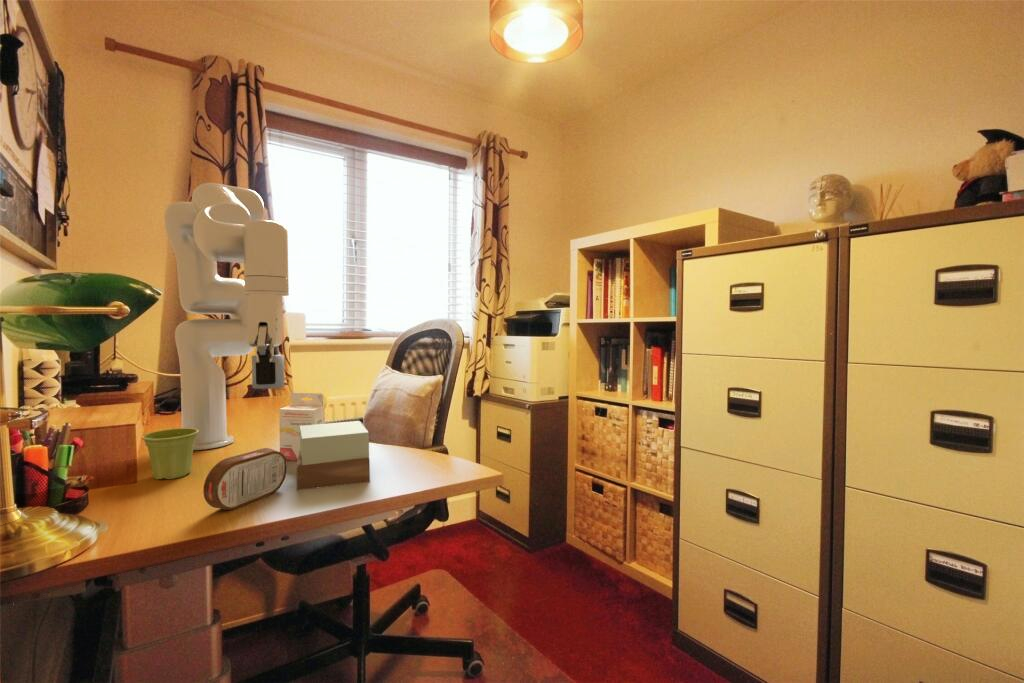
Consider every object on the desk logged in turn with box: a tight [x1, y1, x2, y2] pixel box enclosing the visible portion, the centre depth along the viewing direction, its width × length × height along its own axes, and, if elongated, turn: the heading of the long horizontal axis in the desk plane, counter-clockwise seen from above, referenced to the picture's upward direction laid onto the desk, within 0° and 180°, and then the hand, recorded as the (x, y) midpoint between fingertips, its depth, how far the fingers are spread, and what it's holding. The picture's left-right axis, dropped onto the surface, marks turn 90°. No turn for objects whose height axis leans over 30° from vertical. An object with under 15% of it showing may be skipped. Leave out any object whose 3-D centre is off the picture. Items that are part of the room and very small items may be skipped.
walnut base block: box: [296, 451, 371, 491], centre depth 99 cm, size 13×13×5 cm
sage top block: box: [300, 420, 370, 465], centre depth 98 cm, size 12×12×5 cm
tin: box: [202, 447, 288, 511], centre depth 85 cm, size 15×3×8 cm, turn 159°
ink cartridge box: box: [279, 392, 325, 461], centre depth 111 cm, size 9×5×15 cm, turn 84°
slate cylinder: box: [251, 354, 285, 390], centre depth 93 cm, size 6×6×6 cm
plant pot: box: [141, 427, 199, 480], centre depth 99 cm, size 9×9×9 cm
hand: (268, 381), depth 94 cm, fingers closed on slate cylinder, 5 cm apart
